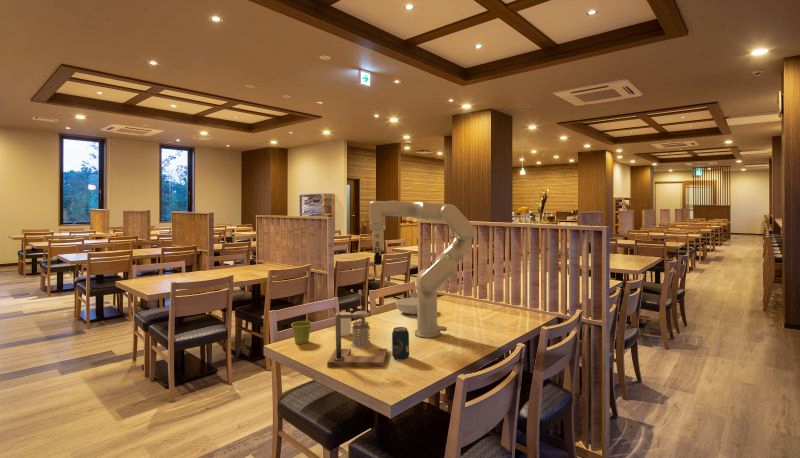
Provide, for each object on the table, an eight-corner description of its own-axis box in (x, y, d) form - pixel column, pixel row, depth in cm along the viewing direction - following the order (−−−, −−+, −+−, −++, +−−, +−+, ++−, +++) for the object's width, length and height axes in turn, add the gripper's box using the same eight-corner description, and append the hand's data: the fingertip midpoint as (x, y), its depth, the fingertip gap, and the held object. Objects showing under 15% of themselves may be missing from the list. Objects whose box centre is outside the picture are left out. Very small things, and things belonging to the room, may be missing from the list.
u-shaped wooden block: (387, 353, 183) (387, 348, 183) (383, 367, 167) (383, 362, 167) (335, 353, 185) (335, 348, 185) (327, 367, 169) (327, 362, 169)
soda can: (389, 358, 177) (388, 329, 176) (398, 353, 183) (397, 325, 182) (403, 361, 173) (403, 332, 173) (412, 356, 179) (411, 327, 178)
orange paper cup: (348, 336, 208) (348, 316, 208) (333, 336, 210) (332, 315, 209) (353, 332, 216) (353, 312, 215) (338, 331, 217) (338, 311, 217)
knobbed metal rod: (366, 357, 173) (365, 313, 172) (364, 361, 169) (363, 315, 168) (335, 357, 173) (333, 313, 173) (332, 361, 169) (331, 315, 169)
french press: (374, 341, 200) (373, 287, 198) (367, 350, 188) (366, 292, 187) (354, 340, 202) (353, 287, 200) (346, 348, 190) (344, 292, 189)
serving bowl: (432, 317, 243) (432, 305, 243) (395, 317, 243) (395, 305, 243) (430, 308, 264) (430, 297, 263) (396, 308, 264) (395, 297, 264)
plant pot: (316, 340, 204) (315, 321, 203) (305, 346, 195) (304, 327, 194) (298, 338, 207) (298, 320, 206) (287, 344, 198) (286, 325, 197)
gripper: (384, 227, 198) (385, 265, 199) (385, 226, 215) (386, 260, 216) (368, 228, 198) (369, 265, 199) (370, 226, 215) (371, 260, 216)
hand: (378, 262), depth 207 cm, fingers open, 9 cm apart
